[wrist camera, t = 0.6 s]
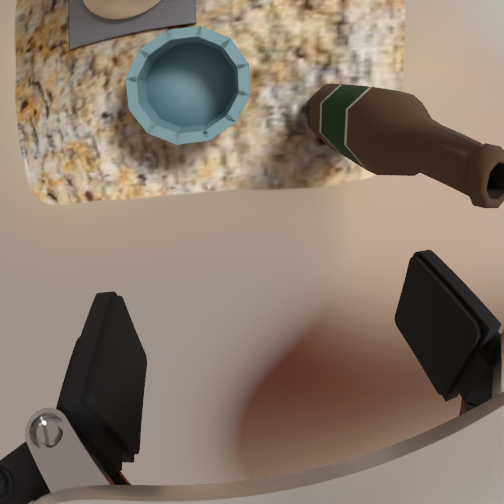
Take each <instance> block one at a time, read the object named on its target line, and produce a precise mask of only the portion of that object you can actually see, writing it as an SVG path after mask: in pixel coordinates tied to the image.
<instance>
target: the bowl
mask: <svg viewBox="0 0 504 504" xmlns="http://www.w3.org/2000/svg"><path fill="white" fill-rule="evenodd" d="M126 89H127V99H128V108H129V110H130V112H131V113H132V114H133V116H134V117H135V118H136V119H137V121H138V122H139V123H140V125H141V126H142V127H143V128H144V130H145V131H146V132H147V133H148V134H150V135H153V136H156V137H158V138H161V139H163V140H166V141H168V142H171V143H173V144H176V145H178V144H186V143H194V142H203V141H209V140H211V139H212V138H213V137H215V136H216V135H218V134H219V133H221V132H222V131H224V130H225V129H227V128H228V127H230V126H231V125H233V124H235V123H236V121H237V119H238V117H239V115H240V113H241V111H242V109H243V108H244V106H245V104H246V102H247V100H248V98H249V96H250V79H249V64H248V62H247V61H246V59H245V58H244V57H243V55H242V54H241V52H240V51H239V50H238V48H237V47H236V45H235V44H234V43H233V41H232V40H231V39H230V38H228V37H226V36H223V35H221V34H219V33H216V32H214V31H211V30H209V29H206V28H204V27H201V26H197V27H188V28H180V29H172V30H166V31H165V32H164V33H162V34H161V35H159V36H158V37H156V38H155V39H153V40H152V41H151V42H149V43H148V44H147V45H145V46H144V47H142V48H141V49H140V50H139V51H138V54H137V56H136V58H135V60H134V62H133V64H132V66H131V68H130V70H129V72H128V75H127V77H126Z"/></svg>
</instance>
